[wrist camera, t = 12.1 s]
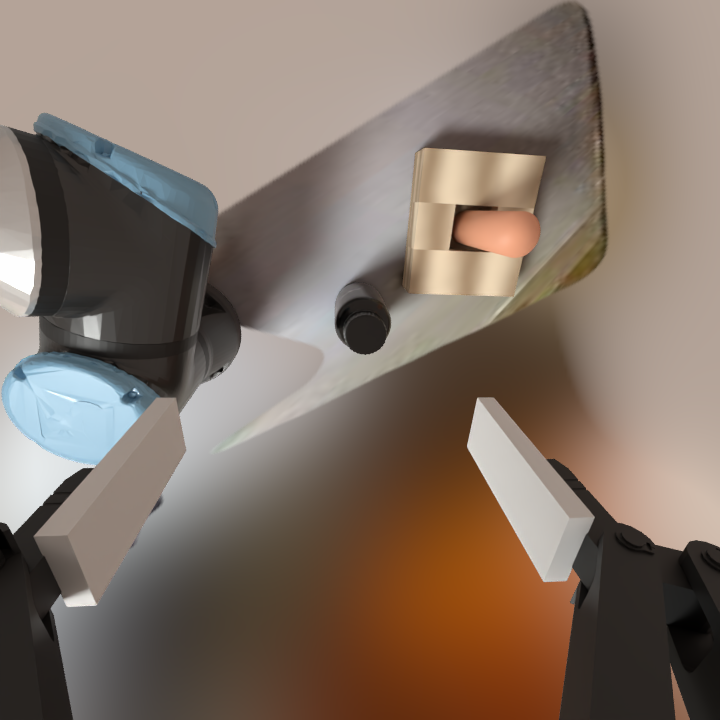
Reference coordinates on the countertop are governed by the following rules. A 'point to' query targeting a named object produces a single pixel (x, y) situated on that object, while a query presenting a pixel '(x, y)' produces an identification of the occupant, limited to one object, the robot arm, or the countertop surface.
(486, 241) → the terracotta dowel
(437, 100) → the countertop surface
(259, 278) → the countertop surface
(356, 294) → the supplement bottle
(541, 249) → the countertop surface
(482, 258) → the bore block
